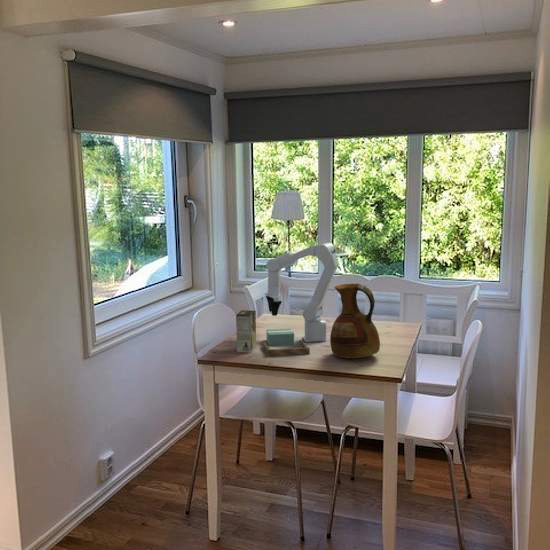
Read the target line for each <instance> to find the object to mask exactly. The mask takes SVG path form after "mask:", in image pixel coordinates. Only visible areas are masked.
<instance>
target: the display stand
mask: <svg viewBox="0 0 550 550" xmlns="http://www.w3.org/2000/svg"><path fill="white" fill-rule="evenodd" d="M299 346H300V347H292V348H276V349H275V348H274V349H273V348H271V349H270V348H269V345H268V343H267V341H266V342H262V348H263V350H264V352H265V353H266V355H267V357H279V356H280V357H281V356H283V357H284V356H298V355H300V356H301V355H310V354H311V353H310V352H311V351H310V350H311V348H310V347H308V345H307V344H306V343H305V342H304V339H303V340H302V339H301V340H299Z"/></svg>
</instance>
